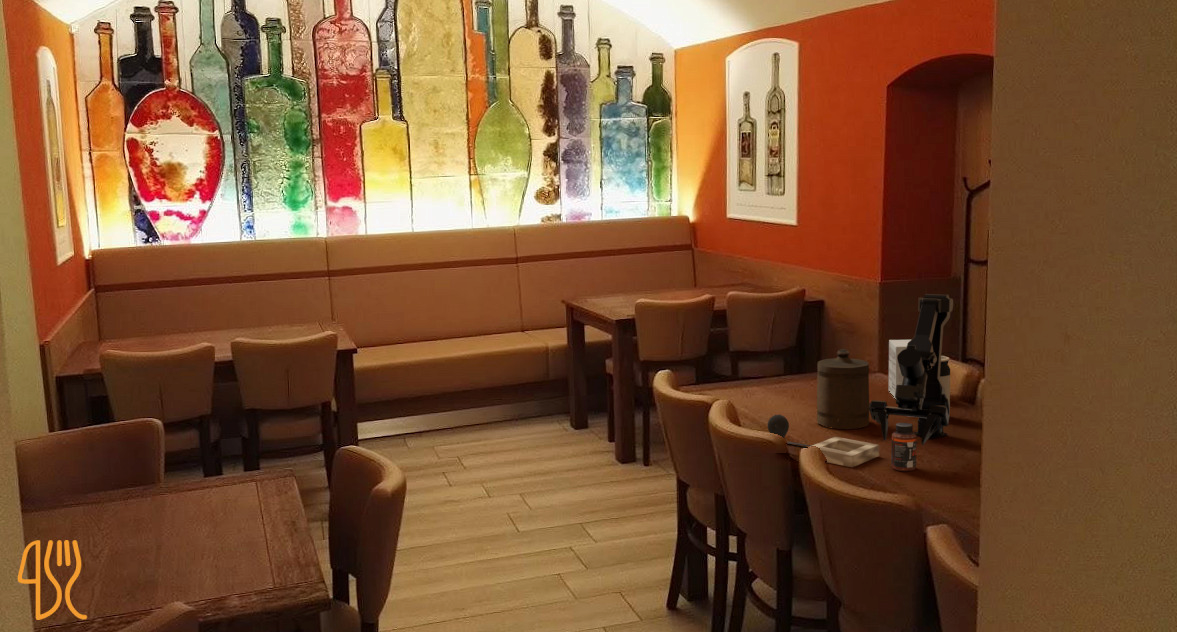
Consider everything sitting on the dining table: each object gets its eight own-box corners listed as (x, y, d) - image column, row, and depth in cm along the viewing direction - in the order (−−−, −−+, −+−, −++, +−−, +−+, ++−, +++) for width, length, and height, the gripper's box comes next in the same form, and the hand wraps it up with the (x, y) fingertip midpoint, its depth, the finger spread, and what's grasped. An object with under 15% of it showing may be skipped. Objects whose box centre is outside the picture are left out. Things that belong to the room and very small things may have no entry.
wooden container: (851, 415, 310) (851, 343, 306) (879, 426, 296) (879, 351, 292) (807, 420, 305) (807, 347, 302) (834, 432, 291) (834, 356, 288)
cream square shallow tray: (835, 447, 275) (835, 436, 275) (878, 456, 266) (879, 444, 266) (807, 458, 266) (807, 447, 266) (851, 467, 257) (851, 455, 257)
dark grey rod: (824, 450, 273) (824, 447, 273) (823, 451, 272) (823, 448, 272) (783, 443, 281) (783, 440, 281) (782, 444, 280) (782, 441, 280)
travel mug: (951, 420, 299) (952, 360, 296) (922, 420, 300) (923, 360, 298) (947, 414, 306) (948, 355, 304) (919, 414, 308) (920, 355, 305)
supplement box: (929, 391, 337) (929, 338, 335) (938, 400, 324) (939, 345, 322) (887, 391, 339) (888, 339, 336) (895, 400, 326) (895, 346, 323)
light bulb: (765, 449, 276) (765, 413, 275) (785, 447, 277) (785, 411, 275) (770, 454, 271) (770, 418, 269) (791, 453, 271) (791, 416, 270)
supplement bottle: (917, 472, 251) (918, 427, 250) (892, 471, 253) (892, 427, 251) (914, 465, 257) (915, 421, 255) (890, 464, 258) (890, 421, 257)
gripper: (870, 369, 260) (859, 421, 252) (947, 374, 251) (938, 428, 243) (877, 393, 268) (867, 444, 260) (952, 398, 259) (943, 452, 251)
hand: (903, 442), depth 253 cm, fingers open, 9 cm apart
